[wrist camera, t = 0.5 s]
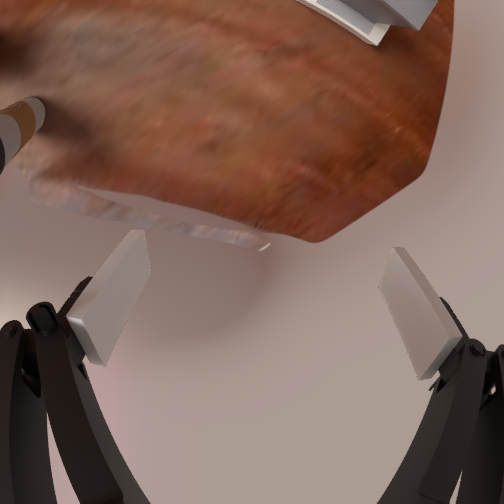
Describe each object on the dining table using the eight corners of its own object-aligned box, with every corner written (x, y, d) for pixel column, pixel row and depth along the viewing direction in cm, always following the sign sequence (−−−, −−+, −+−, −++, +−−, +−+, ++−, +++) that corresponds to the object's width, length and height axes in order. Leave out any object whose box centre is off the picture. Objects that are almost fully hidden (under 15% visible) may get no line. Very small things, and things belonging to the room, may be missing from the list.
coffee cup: (50, 86, 26) (-13, 126, 16) (53, 134, 32) (2, 187, 22) (12, 94, 24) (-48, 136, 14) (18, 138, 30) (-33, 190, 20)
